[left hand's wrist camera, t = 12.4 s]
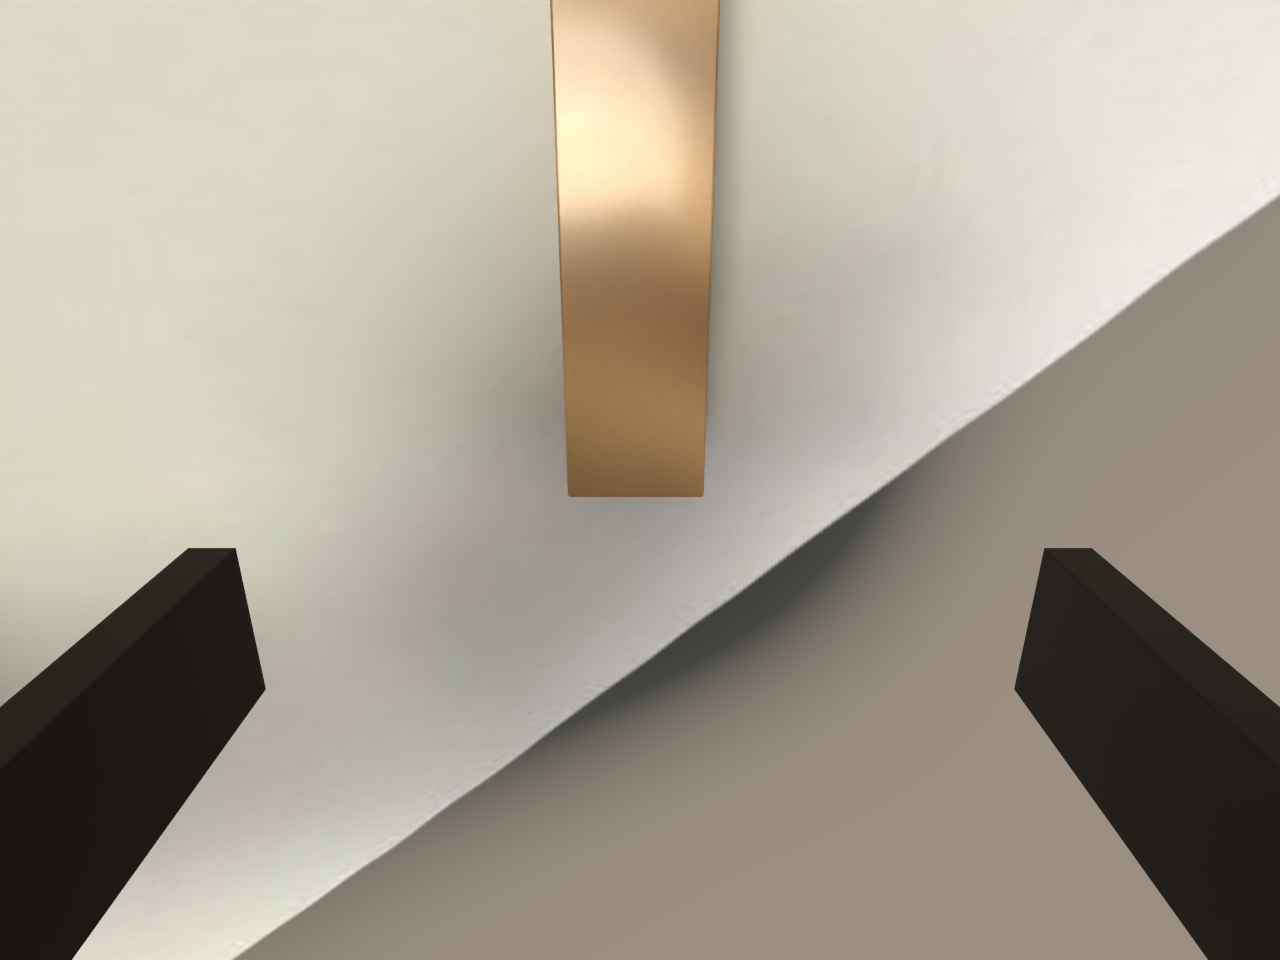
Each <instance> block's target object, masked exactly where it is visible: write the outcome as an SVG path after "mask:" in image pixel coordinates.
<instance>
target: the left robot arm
mask: <svg viewBox="0 0 1280 960" xmlns="http://www.w3.org/2000/svg"><path fill="white" fill-rule="evenodd" d="M265 689H266V688H265V684H264V679H263V674H262V669H261V665H260V660H259V655H258V651H257V646H256V641H255V637H254V632H253V627H252V623H251V618H250V613H249V609H248V604H247V599H246V595H245V590H244V585H243V581H242V576H241V571H240V567H239V562H238V557H237V553H236V548H188V549H187V550H186V551H184V552H183V553H182V554H181V555H180V556H179V557H177V558H176V559H175V560H174V561H173V562H171V563H170V564H169V565H168V566H167V567H166V568H164V569H163V570H162V571H161V572H160V573H158V574H157V575H156V576H155V577H154V578H153V579H151V580H150V581H149V582H148V583H147V584H145V585H144V586H143V587H142V588H141V589H139V590H138V591H137V592H136V593H135V594H134V595H132V596H131V597H130V598H129V599H128V600H126V601H125V602H124V603H123V604H122V605H121V606H119V607H118V608H117V609H116V610H115V611H113V612H112V613H111V614H110V615H109V616H108V617H106V618H105V619H104V620H103V621H102V622H100V623H99V624H98V625H97V626H96V627H95V628H93V629H92V630H91V631H90V632H89V633H87V634H86V635H85V636H84V637H83V638H81V639H80V640H79V641H78V642H77V643H76V644H74V645H73V646H72V647H71V648H70V649H68V650H67V651H66V652H65V653H64V654H63V655H61V656H60V657H59V658H58V659H57V660H55V661H54V662H53V663H52V664H51V665H50V666H48V667H47V668H46V669H45V670H44V671H42V672H41V673H40V674H39V675H38V676H37V677H35V678H34V679H33V680H32V681H31V682H29V683H28V684H27V685H26V686H25V687H24V688H22V689H21V690H20V691H19V692H18V693H16V694H15V695H14V696H13V697H12V698H10V699H9V700H8V701H7V702H6V703H5V704H3V705H2V706H1V707H0V960H72V959H73V957H74V956H75V955H76V953H77V952H78V950H79V949H80V948H81V946H82V945H83V943H84V942H85V941H86V939H87V938H88V937H89V935H90V934H91V932H92V931H93V930H94V928H95V927H96V925H97V924H98V923H99V921H100V920H101V918H102V917H103V916H104V914H105V913H106V911H107V910H108V909H109V907H110V906H111V904H112V903H113V902H114V900H115V899H116V897H117V896H118V895H119V893H120V892H121V890H122V889H123V888H124V886H125V885H126V883H127V882H128V881H129V879H130V878H131V876H132V875H133V874H134V872H135V871H136V869H137V868H138V867H139V865H140V864H141V863H142V861H143V860H144V858H145V857H146V856H147V854H148V853H149V851H150V850H151V849H152V847H153V846H154V844H155V843H156V842H157V840H158V839H159V837H160V836H161V835H162V833H163V832H164V830H165V829H166V828H167V826H168V825H169V823H170V822H171V821H172V819H173V818H174V816H175V815H176V814H177V812H178V811H179V809H180V808H181V807H182V805H183V804H184V802H185V801H186V800H187V798H188V797H189V796H190V794H191V793H192V791H193V790H194V789H195V787H196V786H197V784H198V783H199V782H200V780H201V779H202V777H203V776H204V775H205V773H206V772H207V770H208V769H209V768H210V766H211V765H212V763H213V762H214V761H215V759H216V758H217V756H218V755H219V754H220V752H221V751H222V749H223V748H224V747H225V745H226V744H227V742H228V741H229V740H230V738H231V737H232V735H233V734H234V733H235V731H236V730H237V729H238V727H239V726H240V724H241V723H242V722H243V720H244V719H245V717H246V716H247V715H248V713H249V712H250V710H251V709H252V708H253V706H254V705H255V703H256V702H257V701H258V699H259V698H260V696H261V695H262V694H263V692H264V691H265ZM1014 689H1015V691H1016V692H1017V694H1018V695H1019V696H1020V698H1021V699H1022V701H1023V702H1024V703H1025V705H1026V706H1027V708H1028V709H1029V710H1030V712H1031V713H1032V714H1033V716H1034V717H1035V719H1036V720H1037V721H1038V723H1039V724H1040V726H1041V727H1042V729H1043V730H1044V731H1045V733H1046V734H1047V735H1048V737H1049V738H1050V740H1051V741H1052V742H1053V744H1054V745H1055V747H1056V748H1057V749H1058V751H1059V752H1060V754H1061V755H1062V756H1063V758H1064V759H1065V761H1066V762H1067V763H1068V765H1069V766H1070V768H1071V769H1072V770H1073V772H1074V773H1075V775H1076V776H1077V777H1078V779H1079V780H1080V781H1081V783H1082V784H1083V786H1084V787H1085V788H1086V790H1087V791H1088V793H1089V794H1090V795H1091V797H1092V798H1093V800H1094V801H1095V802H1096V804H1097V805H1098V807H1099V808H1100V809H1101V811H1102V812H1103V814H1104V815H1105V816H1106V818H1107V819H1108V821H1109V822H1110V823H1111V825H1112V826H1113V828H1114V829H1115V830H1116V832H1117V833H1118V835H1119V836H1120V837H1121V839H1122V840H1123V842H1124V843H1125V844H1126V846H1127V847H1128V849H1129V850H1130V851H1131V853H1132V854H1133V856H1134V857H1135V858H1136V860H1137V861H1138V862H1139V864H1140V865H1141V867H1142V868H1143V869H1144V871H1145V872H1146V874H1147V875H1148V876H1149V878H1150V879H1151V881H1152V882H1153V883H1154V885H1155V886H1156V888H1157V889H1158V890H1159V892H1160V893H1161V895H1162V896H1163V897H1164V899H1165V900H1166V902H1167V903H1168V904H1169V906H1170V907H1171V909H1172V910H1173V911H1174V913H1175V914H1176V916H1177V917H1178V918H1179V920H1180V921H1181V923H1182V924H1183V925H1184V927H1185V928H1186V930H1187V931H1188V932H1189V934H1190V935H1191V937H1192V938H1193V939H1194V941H1195V942H1196V943H1197V945H1198V946H1199V948H1200V949H1201V950H1202V952H1203V953H1204V955H1205V956H1206V957H1207V959H1208V960H1280V707H1279V706H1278V705H1277V704H1275V703H1274V702H1273V701H1272V700H1271V699H1269V698H1268V697H1267V696H1266V695H1265V694H1264V693H1262V692H1261V691H1260V690H1259V689H1258V688H1256V687H1255V686H1254V685H1253V684H1252V683H1251V682H1249V681H1248V680H1247V679H1246V678H1245V677H1243V676H1242V675H1241V674H1240V673H1239V672H1238V671H1236V670H1235V669H1234V668H1233V667H1232V666H1230V665H1229V664H1228V663H1227V662H1226V661H1224V660H1223V659H1222V658H1221V657H1220V656H1219V655H1217V654H1216V653H1215V652H1214V651H1213V650H1212V649H1210V648H1209V647H1208V646H1207V645H1206V644H1204V643H1203V642H1202V641H1201V640H1200V639H1198V638H1197V637H1196V636H1195V635H1194V634H1193V633H1191V632H1190V631H1189V630H1188V629H1187V628H1185V627H1184V626H1183V625H1182V624H1181V623H1180V622H1178V621H1177V620H1176V619H1175V618H1174V617H1172V616H1171V615H1170V614H1169V613H1168V612H1167V611H1165V610H1164V609H1163V608H1162V607H1161V606H1159V605H1158V604H1157V603H1156V602H1155V601H1153V600H1152V599H1151V598H1150V597H1149V596H1148V595H1146V594H1145V593H1144V592H1143V591H1142V590H1141V589H1139V588H1138V587H1137V586H1136V585H1135V584H1133V583H1132V582H1131V581H1130V580H1129V579H1127V578H1126V577H1125V576H1124V575H1123V574H1122V573H1120V572H1119V571H1118V570H1117V569H1116V568H1114V567H1113V566H1112V565H1111V564H1110V563H1109V562H1107V561H1106V560H1105V559H1104V558H1103V557H1101V556H1100V555H1099V554H1098V553H1097V552H1095V551H1094V550H1093V549H1092V548H1045V549H1044V553H1043V557H1042V562H1041V567H1040V571H1039V576H1038V581H1037V585H1036V590H1035V595H1034V599H1033V604H1032V609H1031V614H1030V618H1029V623H1028V628H1027V632H1026V637H1025V642H1024V646H1023V651H1022V655H1021V660H1020V665H1019V670H1018V674H1017V679H1016V684H1015V688H1014Z"/></svg>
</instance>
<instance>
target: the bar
mask: <svg viewBox="0 0 1280 960" xmlns="http://www.w3.org/2000/svg"><path fill="white" fill-rule="evenodd" d="M550 7H551V35H552V62H553V90H554V118H555V146H556V174H557V201H558V229H559V257H560V285H561V313H562V340H563V368H564V396H565V424H566V452H567V480H568V496H570V497H702V496H703V492H704V462H705V432H706V403H707V373H708V343H709V313H710V283H711V253H712V223H713V193H714V164H715V134H716V104H717V74H718V44H719V14H720V0H550Z"/></svg>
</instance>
